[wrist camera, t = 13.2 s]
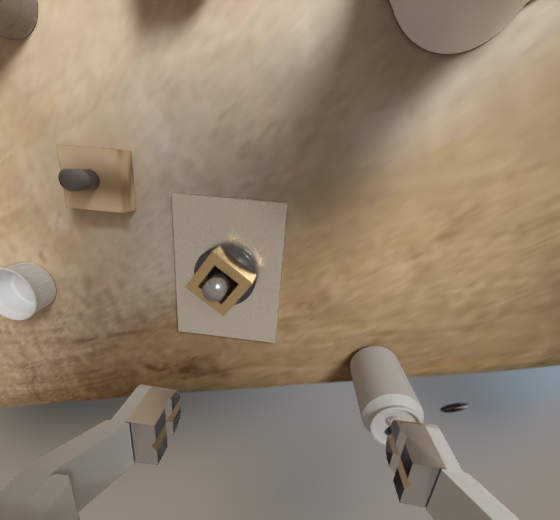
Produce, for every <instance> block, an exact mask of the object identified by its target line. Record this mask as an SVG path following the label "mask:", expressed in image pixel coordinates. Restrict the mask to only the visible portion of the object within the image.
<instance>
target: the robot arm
mask: <svg viewBox="0 0 560 520" xmlns="http://www.w3.org/2000/svg"><path fill="white" fill-rule="evenodd" d="M389 1H390V3H391V6H392V8H393V11H394V14H395V17H396V19H397V21H398V23H399V25H400V27H401V28H402V30H403V31H404V33H405V34H406V35H407V36H408V37H409V38H410V39H411V40H412V41H413V42H414V43H415V44H417V45H418V46H420V47H421V48H423V49H426V50H428V51H431V52H435V53H441V54H454V53H460V52H464V51H468V50H471V49H473V48H475V47H478V46H480V45H481V44H483V43H485V42H487V41H488V40H490V39H491V38H492V37H494V36H495V35H496V34H497V33H499V32H500V31H501V30H502V29H503V28H504V27H505V26H506V25H507V24H508V23H509V22H510V21H511V19H512V18H513V17H514V16H515V15H516V14H517V13H518V12H519V11H520V10H521V9H522V8H523V6H524V5H526V4H527V3H528V2H530V1H531V0H389ZM179 399H180V391H178V390H174V389H168V388H162V387H156V386H148V385H142V384H141V385H139V386H138V387H137V388H136V389H135V390H134V391H133V393H132V394H131V395H130V396H129V398H128V399H127V400H126V402H125V403H124V404H123V405H122V406H121V408H120V409H119V410H118V411H117V413H116V414H115V415H114V416H113V418H112V419H111V420H105V421H104V422H102V423H100V424H98V425H97V426H95V427H93V428H91V429H90V430H88V431H86V432H84V433H83V434H81V435H79V436H77V437H76V438H74V439H72V440H70V441H69V442H67V443H65V444H63V445H62V446H60V447H58V448H56V449H55V450H53V451H51V452H49V453H48V454H46V455H44V456H42V457H41V458H39V459H37V460H35V461H34V462H32V463H30V464H28V465H27V466H25V467H24V468H23V469H22V470H21V471H20V472H19V473H18V474H17V475H16V476H15V477H14V478H13V479H12V480H11V481H10V482H9V483H8V484H7V485H6V486H5V487H4V488H3V489H2V490H1V492H0V520H80V519H79V515H78V512H79V511H80V510H81V509H82V508H84V507H85V506H86V505H87V504H88V503H89V502H90V501H92V500H93V499H94V498H95V497H96V496H97V495H99V494H100V493H101V492H102V491H103V490H104V489H105V488H107V487H108V486H109V485H110V484H111V483H112V482H114V480H116V479H117V478H118V477H119V476H120V475H122V474H123V473H124V472H125V471H126V470H127V469H129V468H130V467H131V466H132V465H133V464H134V462H139V463H146V464H155V465H158V464H159V462H160V460H161V458H162V456H163V454H164V452H165V450H166V448H167V439H168V438H169V437H170V436H172V435H173V434H174V432H175V430H176V428H177V426H178V422H179V419H180V413H181V408H180V406H179V404H178V403H177V402H178V401H179ZM390 428H391V432H392V433H391V434H390V435H389V436H387V441H386V455H387V461H388V464H389V467H390V468H391V469H392V470H393V471H394V473H395V476H394V479H393V481H394V485H395V488H396V492H397V495H398V498H399V502H400V503H404V504H410V505H415V506H420V507H426V508H427V509H426V510H427V511H428V512H429V514H430V515H431V516H432V518H433V519H434V520H519V519H518V518H517V517H516V516H515V515H514V514H512V513H511V512H510V511H509V510H508V509H507V508H506V507H505V506H504V505H502V504H501V503H500V502H499V501H498V500H497V499H496V498H495V497H494V496H493V495H492V494H490V493H489V492H488V491H487V490H486V489H485V488H484V487H483V486H482V485H480V484H479V483H478V482H477V481H476V480H475V479H474V478H473V477H471V475H469V474H468V473H465V472H463V471H462V469H461V467H460V465H459V464H458V462H457V460H456V458H455V456H454V455H453V453H452V451H451V449H450V447H449V445H448V443H447V442H446V440H445V438H444V436H443V434H442V432H441V431H440V429H439V427H438V426H437V425H431V424H424V423H417V422H409V421H401V420H393V421H392V422H391V426H390Z"/></svg>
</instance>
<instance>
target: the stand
mask: <svg viewBox="0 0 560 520" xmlns="http://www.w3.org/2000/svg"><path fill="white" fill-rule="evenodd" d="M56 147H57V153H58V159H59V165H60V170H61V171H60V173H59V182H60V184H61V185H62V187H63V188H64V194H65V199H66V205H67V208H75V209H85V210H96V211H106V212H117V213H125V212H130V211H135V210H136V203H135V192H134V181H133V170H132V159H131V151H124V150H117V149H105V148H93V147H81V146H68V145H56Z"/></svg>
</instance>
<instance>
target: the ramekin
mask: <svg viewBox="0 0 560 520" xmlns="http://www.w3.org/2000/svg"><path fill="white" fill-rule="evenodd" d="M55 296H56V286H55V283H54V281H53V279H52V277H51V276H50V274H49V273H48V272H47V271H46V270H44V269H43V268H42V267H40V266H38V265H36V264H33V263H28V262H23V263H17V264H13V265H8V266H4V267H0V315H2V316H4V317H6V318H9V319H12V320H25V319H28V318H30V317H31V316H33V315H34V314H35V313H36V312H37V311H39V310H41V309H42V308H44V307H46V306H47V305H49V304H50V303H51V302H52V301H53V300H54V299H55Z"/></svg>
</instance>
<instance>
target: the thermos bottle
mask: <svg viewBox="0 0 560 520" xmlns="http://www.w3.org/2000/svg"><path fill="white" fill-rule="evenodd" d="M37 17H38V4H37V0H0V35H1V36H3V37H6V38H8V39H22V38H24V37H26V36H27V35H29V34H30V33H31V31H32V30H33V29H34V27H35V24H36V21H37Z"/></svg>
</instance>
